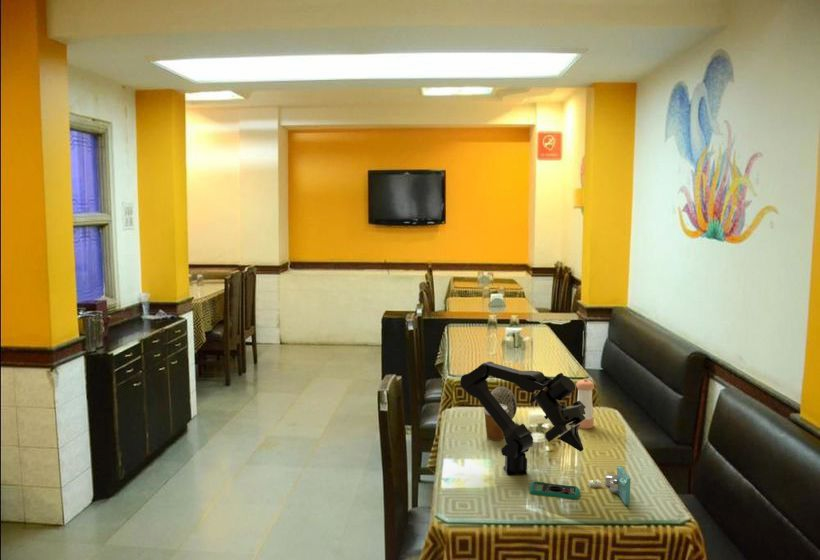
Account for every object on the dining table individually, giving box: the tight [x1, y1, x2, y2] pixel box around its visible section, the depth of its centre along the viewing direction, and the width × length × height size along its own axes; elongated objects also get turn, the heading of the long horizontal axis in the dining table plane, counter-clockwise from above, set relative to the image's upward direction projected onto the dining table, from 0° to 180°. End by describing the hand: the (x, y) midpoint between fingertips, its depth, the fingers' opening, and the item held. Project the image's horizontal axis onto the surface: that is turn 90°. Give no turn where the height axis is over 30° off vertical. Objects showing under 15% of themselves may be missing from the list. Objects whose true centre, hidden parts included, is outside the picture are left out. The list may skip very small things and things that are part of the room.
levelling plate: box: [587, 473, 617, 488], centre depth 201 cm, size 10×14×4 cm
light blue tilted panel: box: [609, 465, 632, 506], centre depth 198 cm, size 12×4×8 cm, turn 179°
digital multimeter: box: [529, 480, 581, 500], centre depth 202 cm, size 7×15×3 cm, turn 74°
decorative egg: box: [490, 385, 518, 420], centre depth 266 cm, size 12×12×15 cm
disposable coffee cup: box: [482, 404, 509, 441], centre depth 250 cm, size 10×10×12 cm
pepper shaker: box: [575, 378, 595, 430], centre depth 262 cm, size 7×7×19 cm
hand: (582, 450), depth 203 cm, fingers closed
